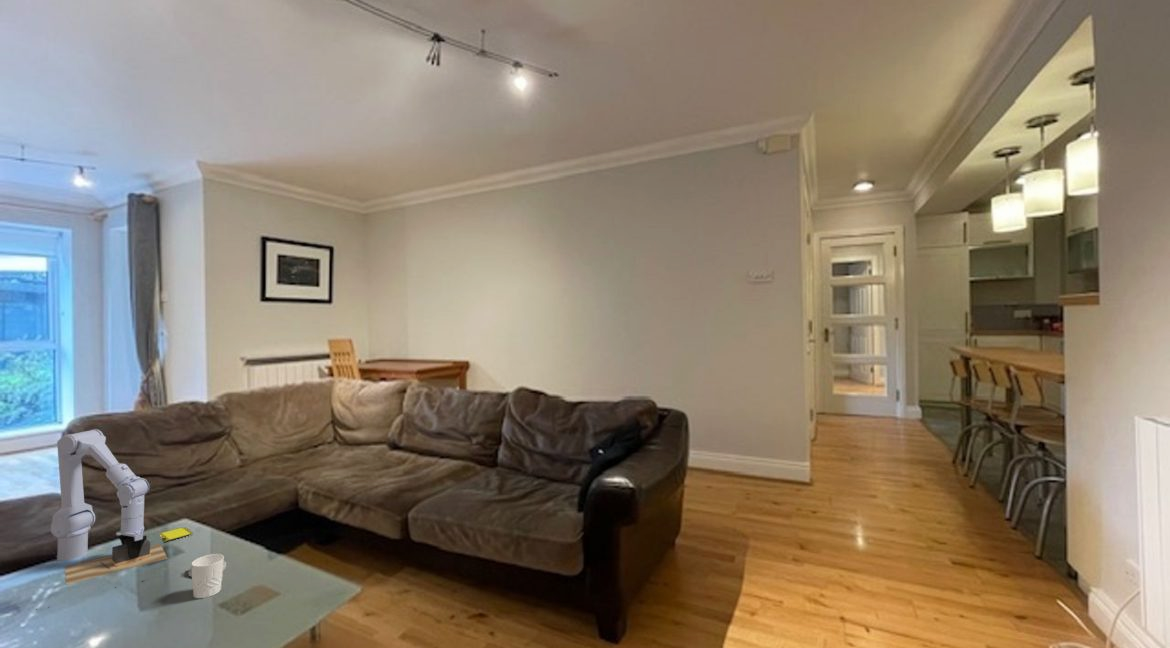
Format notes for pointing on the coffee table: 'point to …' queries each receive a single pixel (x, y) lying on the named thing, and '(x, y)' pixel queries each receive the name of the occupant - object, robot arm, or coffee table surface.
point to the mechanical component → (202, 556)
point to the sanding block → (122, 555)
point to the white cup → (207, 575)
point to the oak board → (108, 566)
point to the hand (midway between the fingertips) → (131, 556)
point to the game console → (174, 534)
